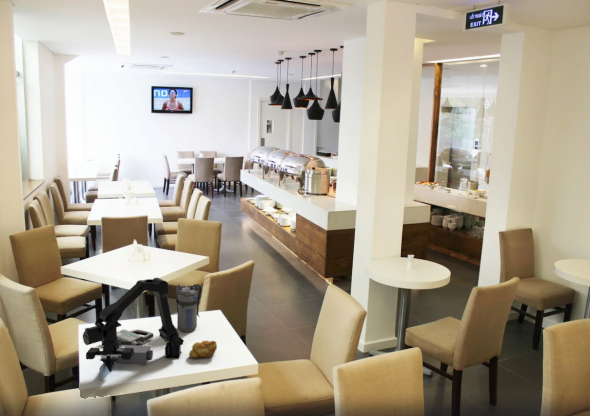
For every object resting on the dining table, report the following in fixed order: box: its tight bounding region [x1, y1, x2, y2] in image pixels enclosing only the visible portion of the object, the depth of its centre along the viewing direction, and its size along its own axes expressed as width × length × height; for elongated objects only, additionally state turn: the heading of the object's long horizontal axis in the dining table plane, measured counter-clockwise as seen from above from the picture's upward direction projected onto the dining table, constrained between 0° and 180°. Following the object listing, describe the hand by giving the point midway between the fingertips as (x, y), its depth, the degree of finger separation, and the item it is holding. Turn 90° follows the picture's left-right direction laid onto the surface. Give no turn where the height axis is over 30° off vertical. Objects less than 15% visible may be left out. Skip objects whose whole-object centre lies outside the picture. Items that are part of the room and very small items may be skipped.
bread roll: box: [188, 340, 218, 360], centre depth 238 cm, size 13×10×8 cm
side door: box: [99, 357, 117, 381], centre depth 218 cm, size 15×2×6 cm, turn 178°
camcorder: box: [100, 329, 154, 346], centre depth 248 cm, size 16×20×5 cm
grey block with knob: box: [115, 345, 154, 366], centre depth 229 cm, size 17×7×7 cm, turn 91°
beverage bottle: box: [175, 283, 202, 333], centre depth 266 cm, size 10×13×25 cm
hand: (110, 371), depth 214 cm, fingers closed
